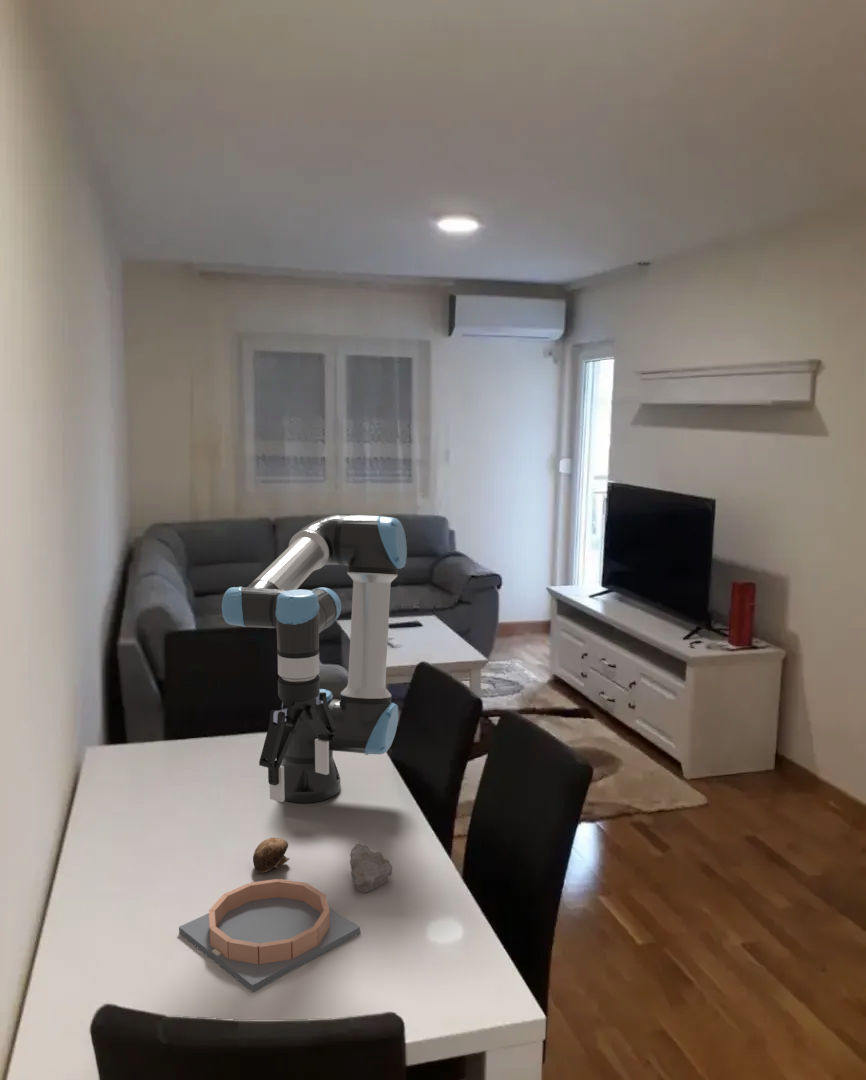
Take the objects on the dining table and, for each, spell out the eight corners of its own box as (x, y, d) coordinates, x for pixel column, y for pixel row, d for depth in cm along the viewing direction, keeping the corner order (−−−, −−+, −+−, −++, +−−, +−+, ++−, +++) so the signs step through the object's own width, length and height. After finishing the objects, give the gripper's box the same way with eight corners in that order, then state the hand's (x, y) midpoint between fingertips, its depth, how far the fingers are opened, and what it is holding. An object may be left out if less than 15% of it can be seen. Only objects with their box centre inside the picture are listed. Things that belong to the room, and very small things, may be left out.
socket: (283, 884, 172) (283, 864, 171) (360, 933, 157) (360, 910, 156) (179, 933, 156) (178, 910, 156) (252, 992, 141) (252, 967, 140)
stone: (333, 876, 175) (333, 848, 174) (369, 863, 180) (369, 836, 179) (361, 899, 167) (361, 869, 166) (397, 885, 172) (397, 856, 171)
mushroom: (304, 847, 180) (284, 825, 178) (287, 879, 173) (266, 857, 171) (278, 855, 184) (258, 834, 182) (259, 887, 177) (239, 866, 176)
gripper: (322, 655, 178) (323, 758, 181) (236, 691, 156) (239, 807, 160) (354, 661, 174) (355, 766, 178) (271, 698, 153) (273, 817, 156)
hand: (300, 786), depth 169 cm, fingers open, 13 cm apart
